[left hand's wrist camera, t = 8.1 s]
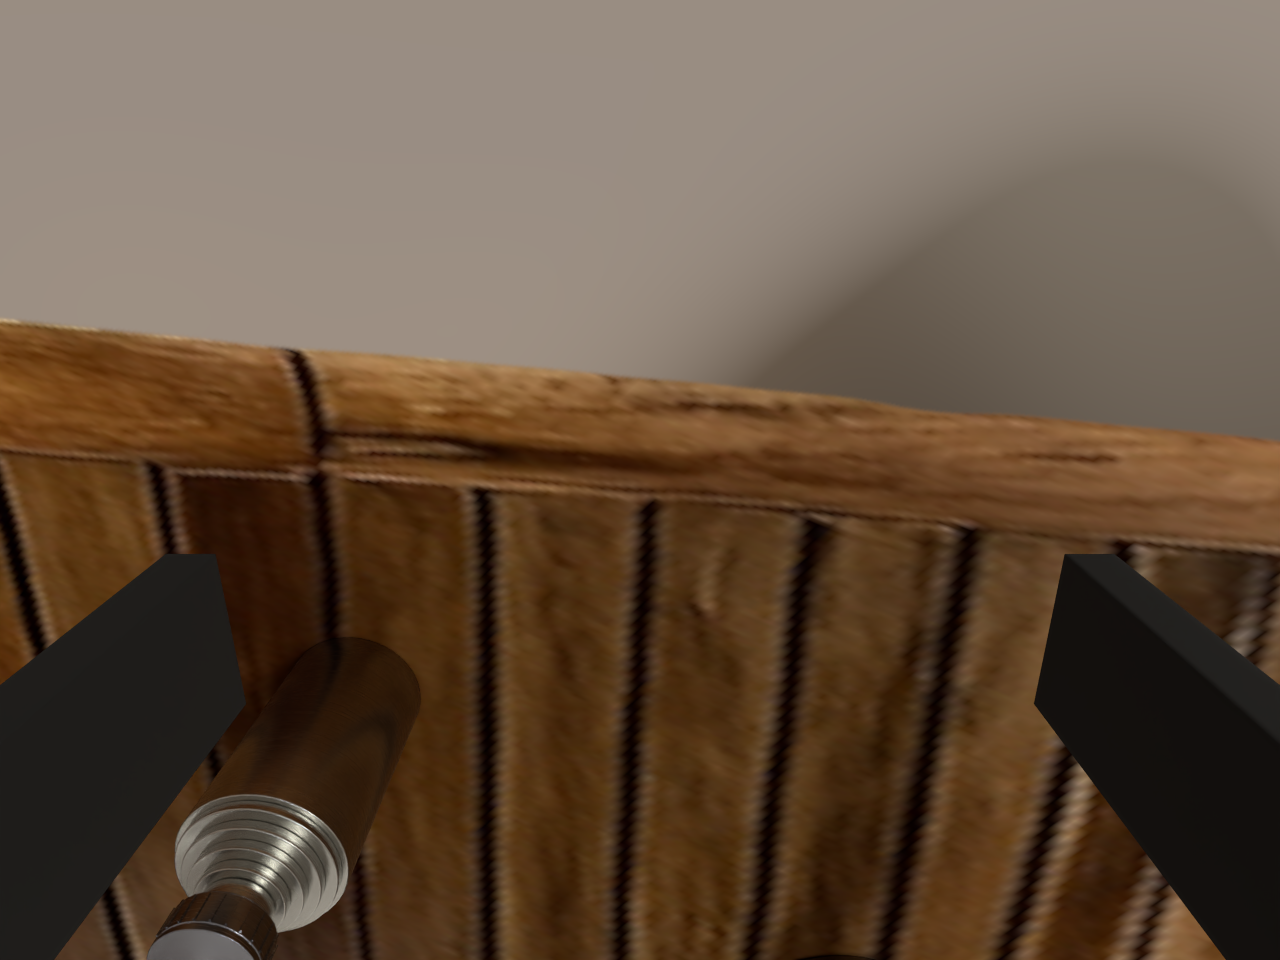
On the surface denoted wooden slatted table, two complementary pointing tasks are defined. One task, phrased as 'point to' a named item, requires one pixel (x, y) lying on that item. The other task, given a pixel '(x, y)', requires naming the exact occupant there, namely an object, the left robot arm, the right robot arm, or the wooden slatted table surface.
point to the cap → (216, 930)
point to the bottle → (303, 784)
